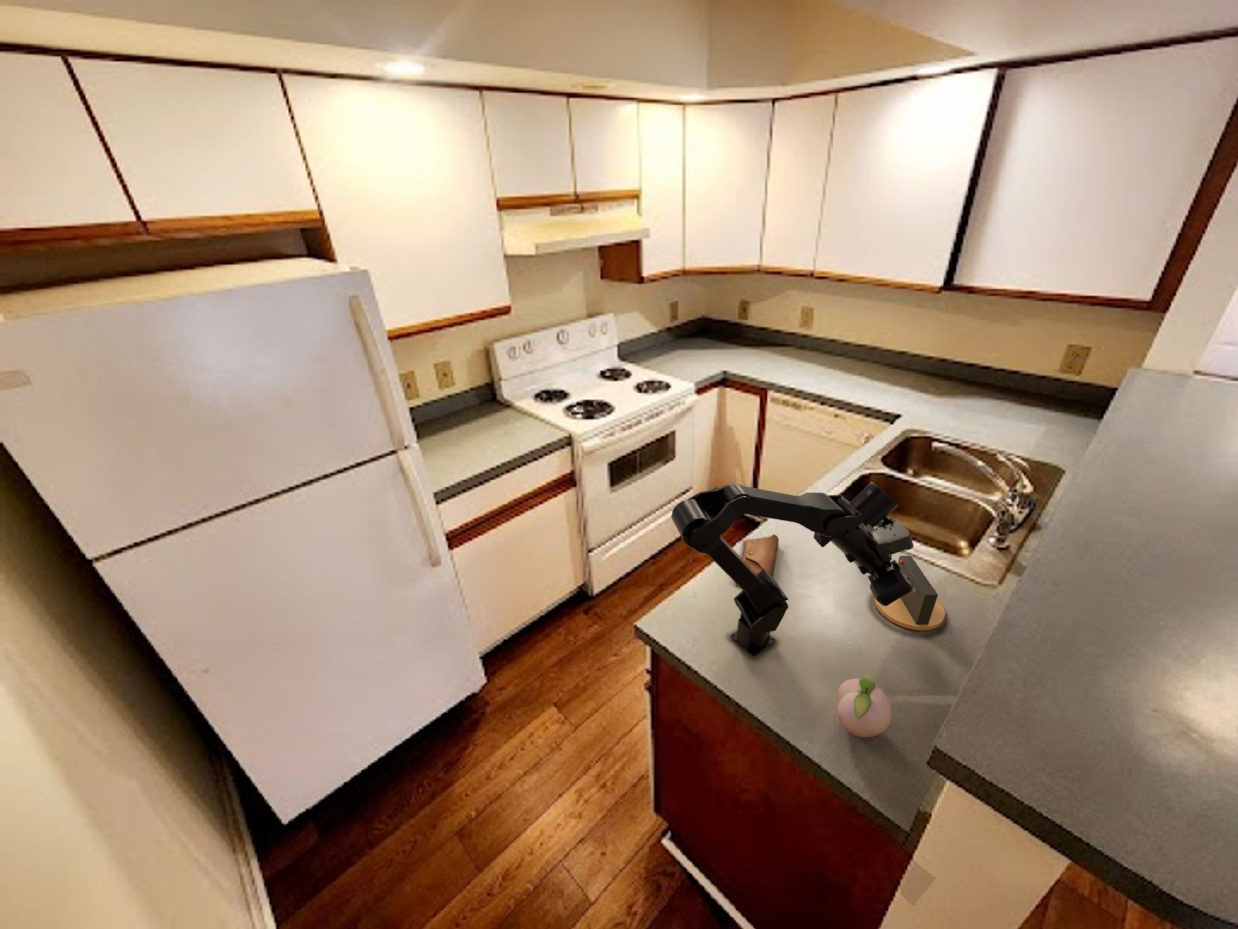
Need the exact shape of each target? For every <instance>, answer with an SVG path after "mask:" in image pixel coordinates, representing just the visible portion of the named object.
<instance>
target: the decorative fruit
mask: <svg viewBox="0 0 1238 929" xmlns="http://www.w3.org/2000/svg"><path fill="white" fill-rule="evenodd" d="M837 703H838V704H837V708H836V713H837V717H838V719H839V722H840V723H841V725H842V726H843V728H844V729H845V730H846V731H847V732H848V733H850V734H851V735H853V736H855V737H858V738H873V737H876V736H879V735H881V734H883V733H884V732H885V731H886V730H887V729H888V728H889V726H890V724H891V721H892V707H891V702H890V699H889V697H888V696H887V695H886V693H885V692H884V691H883V690H882V689H881V688H880V687H879V686H877V685H876V683H875V681H874V680H873V678H871V677H870V676H869V675H863V676H862V677H860V678H849V679H846V680H845V681H844V682H842V683H841V685H840V686H839V687H838V691H837Z"/></svg>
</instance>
